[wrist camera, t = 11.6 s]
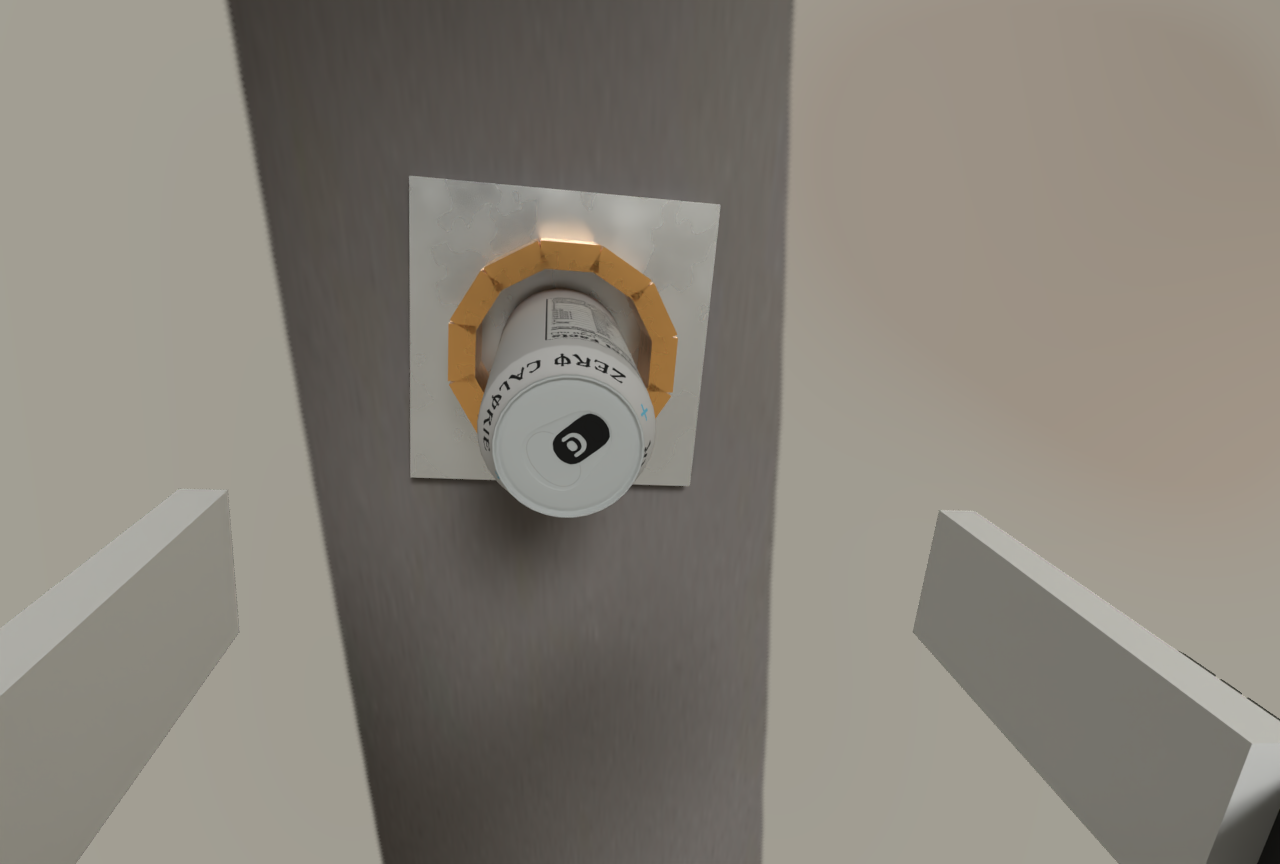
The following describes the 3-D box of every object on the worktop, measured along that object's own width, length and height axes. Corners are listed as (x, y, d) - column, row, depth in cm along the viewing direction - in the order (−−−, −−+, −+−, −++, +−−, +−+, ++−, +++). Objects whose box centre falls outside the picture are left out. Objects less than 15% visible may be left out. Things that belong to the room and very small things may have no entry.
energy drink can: (476, 334, 36) (430, 435, 22) (572, 260, 36) (586, 316, 22) (551, 423, 38) (553, 567, 24) (643, 355, 38) (699, 463, 24)
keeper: (413, 176, 35) (393, 170, 30) (714, 204, 37) (742, 203, 32) (414, 469, 39) (396, 506, 34) (685, 478, 41) (705, 514, 37)
